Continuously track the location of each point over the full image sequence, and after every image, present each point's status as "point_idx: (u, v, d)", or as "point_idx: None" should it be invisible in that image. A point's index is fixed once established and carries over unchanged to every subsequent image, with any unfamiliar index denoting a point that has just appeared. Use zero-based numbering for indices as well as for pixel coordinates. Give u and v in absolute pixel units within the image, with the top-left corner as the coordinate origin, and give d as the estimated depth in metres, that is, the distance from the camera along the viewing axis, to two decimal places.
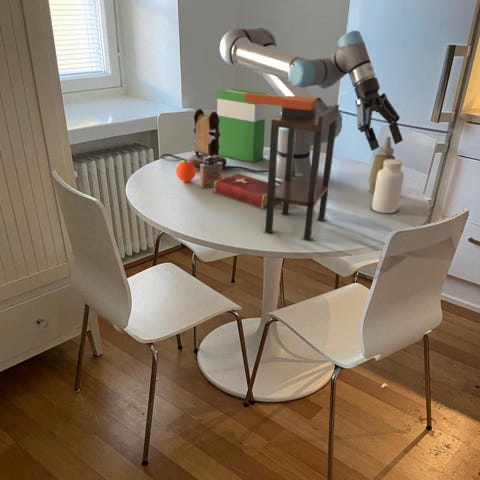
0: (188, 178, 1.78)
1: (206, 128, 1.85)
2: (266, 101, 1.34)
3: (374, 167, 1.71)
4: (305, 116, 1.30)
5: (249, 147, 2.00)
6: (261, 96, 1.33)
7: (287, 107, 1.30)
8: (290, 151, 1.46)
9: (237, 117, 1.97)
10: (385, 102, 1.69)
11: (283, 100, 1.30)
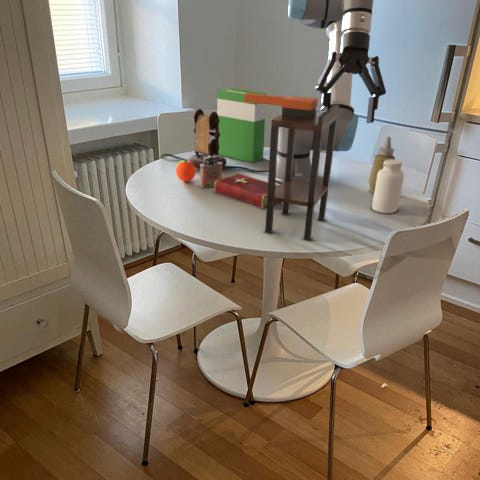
0: (188, 178, 1.78)
1: (206, 128, 1.85)
2: (266, 101, 1.34)
3: (374, 167, 1.71)
4: (305, 116, 1.30)
5: (249, 147, 2.00)
6: (261, 96, 1.33)
7: (287, 107, 1.30)
8: (290, 151, 1.46)
9: (237, 117, 1.97)
10: (374, 68, 1.39)
11: (283, 100, 1.30)
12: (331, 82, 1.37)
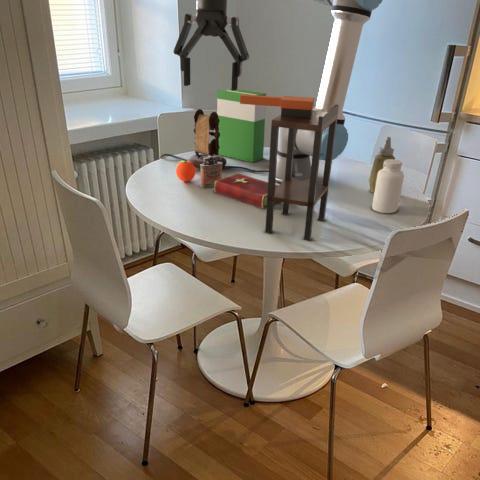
0: (188, 178, 1.78)
1: (206, 128, 1.85)
2: (263, 102, 1.32)
3: (374, 167, 1.71)
4: (305, 116, 1.30)
5: (249, 147, 2.00)
6: (258, 97, 1.32)
7: (287, 107, 1.30)
8: (290, 151, 1.46)
9: (237, 117, 1.97)
10: None
11: (282, 101, 1.29)
12: (186, 47, 1.33)
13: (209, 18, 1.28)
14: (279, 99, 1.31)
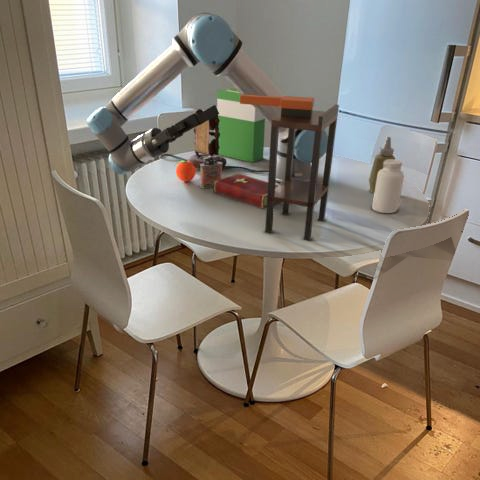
0: (188, 178, 1.78)
1: (206, 128, 1.85)
2: (263, 102, 1.32)
3: (374, 167, 1.71)
4: (305, 116, 1.30)
5: (249, 147, 2.00)
6: (258, 97, 1.32)
7: (287, 107, 1.30)
8: (290, 151, 1.46)
9: (237, 117, 1.97)
10: None
11: (282, 101, 1.29)
12: (194, 127, 1.52)
13: None
14: (279, 99, 1.31)
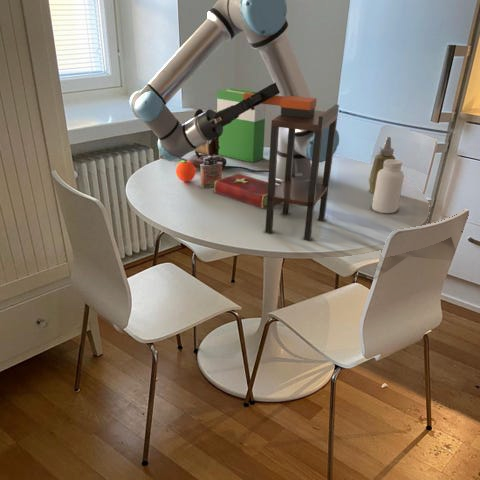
0: (188, 178, 1.78)
1: None
2: (265, 101, 1.34)
3: (374, 167, 1.71)
4: (304, 116, 1.30)
5: (249, 147, 2.00)
6: None
7: (286, 106, 1.30)
8: (290, 151, 1.46)
9: None
10: None
11: (282, 100, 1.30)
12: (250, 108, 1.39)
13: None
14: (280, 98, 1.32)
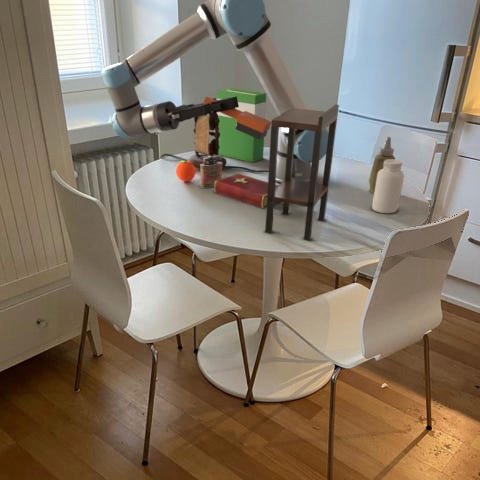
0: (188, 178, 1.78)
1: (206, 128, 1.85)
2: (223, 111, 1.40)
3: (374, 167, 1.71)
4: (256, 136, 1.39)
5: (249, 147, 2.00)
6: None
7: (241, 123, 1.38)
8: (290, 151, 1.46)
9: None
10: None
11: (239, 116, 1.37)
12: None
13: None
14: (238, 113, 1.39)
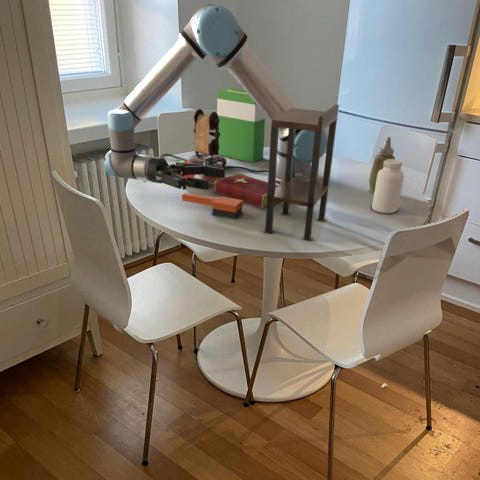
0: None
1: (206, 128, 1.85)
2: (200, 201, 1.57)
3: (374, 167, 1.71)
4: (231, 216, 1.53)
5: (249, 147, 2.00)
6: (195, 197, 1.57)
7: (216, 208, 1.54)
8: (290, 151, 1.46)
9: (237, 117, 1.97)
10: None
11: (213, 203, 1.53)
12: None
13: None
14: (212, 200, 1.55)
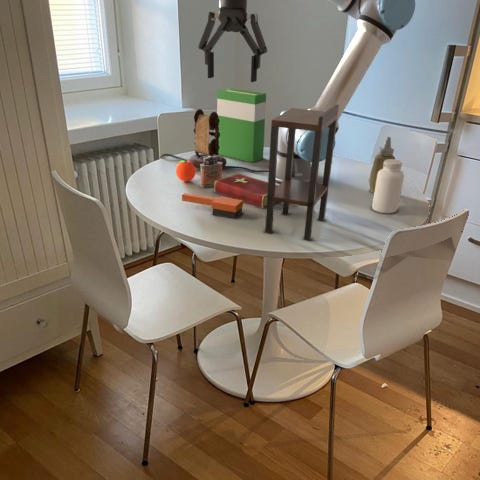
0: (188, 178, 1.78)
1: (206, 128, 1.85)
2: (200, 201, 1.57)
3: (374, 167, 1.71)
4: (231, 216, 1.53)
5: (249, 147, 2.00)
6: (195, 197, 1.57)
7: (216, 208, 1.54)
8: (290, 151, 1.46)
9: (237, 117, 1.97)
10: None
11: (213, 203, 1.53)
12: (209, 42, 1.45)
13: (230, 15, 1.39)
14: (212, 200, 1.55)
